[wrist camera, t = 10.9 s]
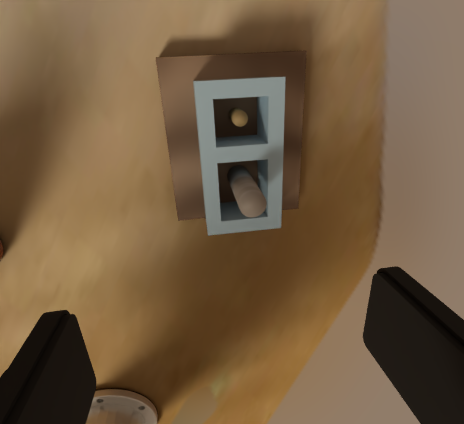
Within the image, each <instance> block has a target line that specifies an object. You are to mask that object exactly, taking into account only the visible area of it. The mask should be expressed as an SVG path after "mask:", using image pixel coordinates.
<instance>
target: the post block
mask: <svg viewBox="0 0 464 424" xmlns="http://www.w3.org/2000/svg"><path fill="white" fill-rule="evenodd" d="M156 64H157V71H158V78H159V85H160V92H161V100H162V107H163V114H164V121H165V128H166V136H167V143H168V150H169V157H170V164H171V171H172V179H173V186H174V193H175V200H176V207H177V214H178V221H180V220H189V219H199V218H206V216H205V206H204V195H203V184H202V173H201V162H200V151H199V140H198V129H197V118H196V107H195V97H194V86H193V81H199V80H219V79H239V78H259V77H285V112H284V146H283V181H282V210H287V209H297V208H298V204H299V185H300V165H301V146H302V127H303V107H304V88H305V68H306V51H288V52H266V53H244V54H222V55H200V56H178V57H156ZM213 108H214V123H215V138H217V137H231V136H245V135H257V97H243V98H226V99H213ZM217 168H218V182H219V197H220V203H224V202H235V201H237V204H238V206H239V209H240V211H241V213H242V214H243V215H245V216H247V217H257V216H259V215H261V214H262V213H263V212H264V211H265V209H266V205H267V202H266V198H265V197H264V195H263V194H262V192H261V191H260V189H259V187H258V170H257V160H252V161H240V162H227V163H217Z"/></svg>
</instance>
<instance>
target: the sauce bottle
mask: <svg viewBox="0 0 464 424" xmlns="http://www.w3.org/2000/svg"><path fill="white" fill-rule="evenodd" d="M2 255H3V246H2V242H1V240H0V261H1V258H2Z"/></svg>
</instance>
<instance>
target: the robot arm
mask: <svg viewBox="0 0 464 424" xmlns="http://www.w3.org/2000/svg"><path fill="white" fill-rule="evenodd" d="M363 339H364V343H365V345H366V347H367V349H368V350H369V351H370V353H371V354H372V356H373V357H374V358H375V360H376V361H377V363H378V364H379V365H380V367H381V368H382V370H383V371H384V372H385V374H386V375H387V377H388V378H389V380H390V381H391V382H392V384H393V385H394V387H395V388H396V389H397V391H398V392H399V393H400V395H401V397H402V398H403V399H404V401H405V402H406V404H407V405H408V406H409V408H410V409H411V411H412V412H413V414H414V415H415V416H416V418H417V419H418V421H419V422H420V423H421V424H464V320H463V319H462V318H460V317H459V316H458V315H457V314H456V313H454V312H453V311H452V310H451V309H450V308H449V307H447V306H446V305H445V304H444V303H442V302H441V301H440V300H439V299H438V298H436V297H435V296H434V295H433V294H432V293H430V292H429V291H428V290H427V289H426V288H424V287H423V286H422V285H421V284H419V283H418V282H417V281H416V280H415V279H413V278H412V277H411V276H410V275H409V274H407V273H406V272H405V271H404V270H402V269H401V268H399V267H388V268H381V269H379V270H378V271H377V274H374V276H373V279H372V285H371V291H370V297H369V303H368V308H367V314H366V320H365V326H364V332H363ZM95 390H96V377H95V374H94V371H93V367H92V364H91V361H90V358H89V355H88V352H87V349H86V346H85V343H84V340H83V336H82V333H81V330H80V327H79V324H78V321H77V318H76V316H75V315H74V314H70V313H69V312H68V311H67V310H61V311H53V312H46V313H44V314H43V315H42V316H41V317H40V319H39V320H38V322H37V323H36V325H35V327H34V328H33V330H32V331H31V333H30V334H29V336H28V338H27V339H26V341H25V342H24V344H23V346H22V347H21V349H20V350H19V352H18V354H17V355H16V357H15V358H14V360H13V361H12V363H11V365H10V366H9V368H8V369H7V370H6V371H5V372H4V373H3V374H2V376H1V377H0V424H157V417H158V414H157V410H156V408H155V406H154V405H153V404H152V403H151V402H150V401H149V400H148V399H147V398H145V397H144V396H142V395H140V394H137V393H135V392H131V391H127V390H120V389H105V390H98V391H95Z"/></svg>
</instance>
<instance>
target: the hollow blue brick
mask: <svg viewBox="0 0 464 424" xmlns="http://www.w3.org/2000/svg"><path fill="white" fill-rule="evenodd" d="M193 86H194V97H195V107H196V118H197V129H198V140H199V151H200V162H201V173H202V184H203V195H204V206H205V216H206V224H207V232H208V236H209V235H218V234H228V233H237V232H247V231H256V230H266V229H275V228H281V216H282V181H283V146H284V112H285V77H259V78H239V79H219V80H199V81H193ZM243 97H257V135H245V136H231V137H217V138H215V123H214V108H213V99H226V98H243ZM252 160H257V170H258V187H259V189H260V191H261V192H262V194H263V195H264V197H265V198H266V202H267V205H266V209H265V211H264V212H263V213H262V214H261V215H259V216H257V217H247V216H245V215H243V214H242V213H241V211H240V209H239V206H238V204H237V201H235V202H224V203H220V197H219V182H218V168H217V163H227V162H240V161H252Z"/></svg>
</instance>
